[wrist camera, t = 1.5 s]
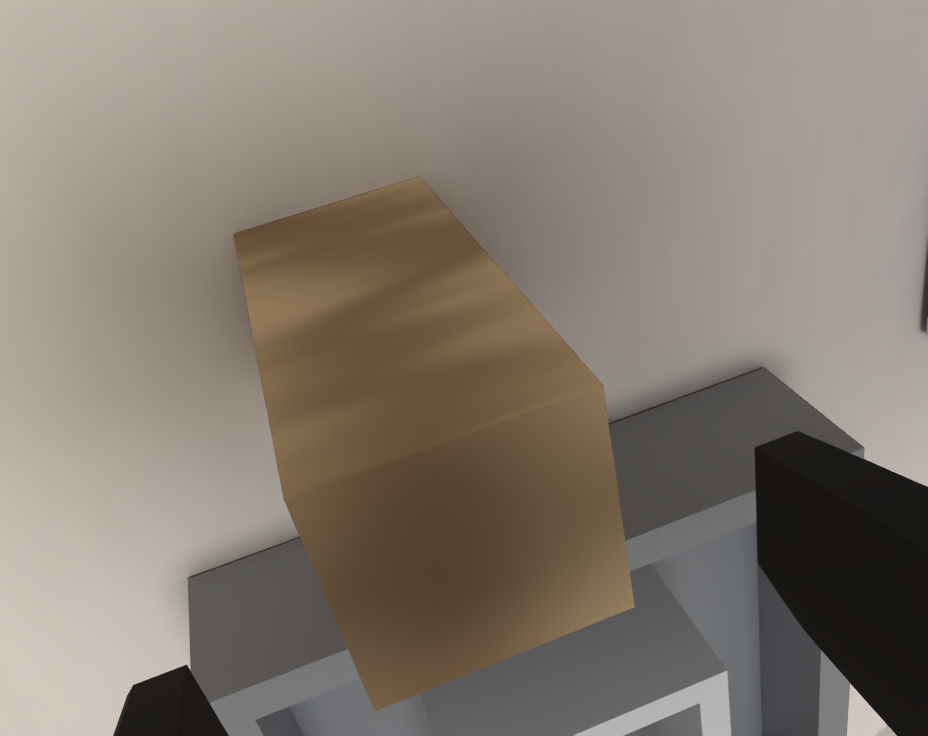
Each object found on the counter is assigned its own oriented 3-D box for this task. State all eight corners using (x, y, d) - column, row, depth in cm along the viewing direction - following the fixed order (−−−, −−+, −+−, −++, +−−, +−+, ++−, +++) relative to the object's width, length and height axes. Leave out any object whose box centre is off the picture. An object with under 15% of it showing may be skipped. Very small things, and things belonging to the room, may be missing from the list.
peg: (419, 176, 18) (602, 385, 10) (458, 336, 20) (634, 606, 12) (233, 234, 17) (283, 500, 10) (294, 393, 19) (375, 711, 12)
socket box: (764, 367, 23) (895, 472, 19) (770, 720, 32) (861, 846, 28) (188, 578, 21) (193, 750, 17) (362, 897, 29) (394, 1064, 25)
